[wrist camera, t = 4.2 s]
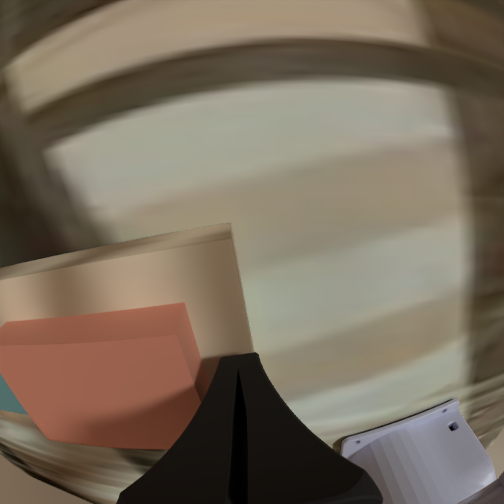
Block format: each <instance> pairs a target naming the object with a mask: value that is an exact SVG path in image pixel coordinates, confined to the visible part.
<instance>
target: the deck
mask: <svg viewBox="0 0 504 504" xmlns="http://www.w3.org/2000/svg"><path fill="white" fill-rule="evenodd" d="M181 302H185V305H186V308H187V312H188V316H189V319H190V322H191V326H192V329H193V333H194V336H195V339H196V343H197V346H198V349H199V353H200V356H201V359H202V362H203V365H204V368H205V372H206V375H207V378H208V381H209V384H211V382H212V379H213V377H214V374H215V372H216V369H217V366H218V363H219V360H220V359H221V357H225V356H232V355H239V354H246V353H253V352H254V348H253V343H252V338H251V332H250V327H249V321H248V316H247V311H246V305H245V300H244V294H243V289H242V283H241V278H240V272H239V266H238V261H237V255H236V249H235V244H234V238H233V232H232V226H231V223H227V224H221V225H215V226H209V227H203V228H197V229H191V230H186V231H180V232H174V233H169V234H163V235H158V236H152V237H147V238H142V239H136V240H131V241H126V242H121V243H116V244H111V245H106V246H100V247H96V248H91V249H86V250H81V251H76V252H71V253H66V254H62V255H57V256H52V257H48V258H43V259H38V260H34V261H29V262H25V263H21V264H16V265H12V266H7V267H3V268H0V328H1V327H2V326H3V325H4V324H5V323H6V322H9V321H21V320H33V319H44V318H55V317H65V316H75V315H85V314H94V313H103V312H111V311H120V310H128V309H136V308H144V307H152V306H159V305H167V304H174V303H181Z"/></svg>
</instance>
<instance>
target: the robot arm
mask: <svg viewBox="0 0 504 504" xmlns="http://www.w3.org/2000/svg"><path fill="white" fill-rule="evenodd" d="M459 403H460V402H459V400H458V399H453V400H451V401H449V402H447V403H444V404H442V405H440V406H437V407H435V408H433V409H430V410H428V411H425V412H423V413H420V414H418V415H415V416H412V417H410V418H407V419H404V420H401V421H399V422H396V423H393V424H390V425H387V426H384V427H381V428H378V429H375V430H371V431H368V432H365V433H361V434H358V435H354V436H350V437H347V438H345V439H344V440H343V441H342V443H341V451H340V454H339V453H337V452H336V451H335V450H333V449H332V448H331V447H329V446H328V445H327V444H326V443H324V442H323V441H322V440H321V439H320V438H318V437H317V436H316V435H315V434H314V433H312V432H311V431H310V430H309V429H308V428H307V427H306V426H305V425H304V424H303V423H302V422H301V421H300V420H299V419H298V417H297V416H296V415H295V414H294V413H293V412H292V411H291V410H290V408H289V407H288V406H287V405H286V403H285V402H284V401H283V399H282V398H281V397H280V395H279V394H278V392H277V391H276V389H275V388H274V386H273V385H272V383H271V382H270V380H269V378H268V376H267V375H266V373H265V371H264V369H263V366H262V364H261V362H260V358H259V354H257V353H256V352H253V353H246V354H239V355H232V356H225V357H221V359H220V360H219V363H218V366H217V369H216V372H215V374H214V377H213V379H212V382H211V384H210V386H209V388H208V390H207V392H206V395H205V397H204V399H203V401H202V402H201V404H200V406H199V408H198V409H197V411H196V413H195V415H194V416H193V418H192V420H191V421H190V423H189V424H188V426H187V427H186V429H185V430H184V431H183V433H182V434H181V435H180V437H179V438H178V439H177V440H176V442H175V443H174V444H173V445H172V447H171V448H170V449H169V450H168V451H167V452H166V454H165V455H164V456H163V457H162V458H161V459H160V460H159V461H158V462H157V463H156V464H155V465H154V466H153V467H151V468H150V469H149V470H148V471H147V472H146V473H145V474H144V475H143V476H142V477H140V478H139V479H138V480H136V481H135V482H134V483H133V484H131V485H130V486H129V487H127V488H126V489H125V490H123V491H122V492H120V495H119V498H118V501H117V503H116V504H504V472H503V473H502V474H501V475H500V476H499V478H498V479H497V480H496V475H495V470H494V466H493V464H492V461H491V459H490V457H489V455H488V454H487V452H486V451H485V449H484V448H483V446H482V445H481V443H480V442H479V440H478V439H477V437H476V436H475V434H474V433H473V431H472V430H471V428H470V427H469V425H468V424H467V422H466V421H465V419H464V418H463V416H462V415H461V413H460V412H459V411H458V409H457V408H458V406H459Z"/></svg>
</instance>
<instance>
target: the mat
mask: <svg viewBox="0 0 504 504" xmlns="http://www.w3.org/2000/svg"><path fill="white" fill-rule="evenodd" d="M0 410H5V411H10V412H16V413H22V414H28V413H27V412H26V411H25V409H24V408H23V406H22V405H21V404H20V402H19V401H18V399H17V398H16V396H15V395H14V393H13V392H12V390H11V389H10V387H9V386H8V384H7V383H6V381H5V380H4V378H3V377H2V375H1V373H0Z"/></svg>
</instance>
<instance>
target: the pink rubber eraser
mask: <svg viewBox="0 0 504 504" xmlns="http://www.w3.org/2000/svg"><path fill="white" fill-rule="evenodd" d="M0 373H1V375H2V377H3V378H4V380H5V381H6V383H7V384H8V386H9V387H10V389H11V390H12V392H13V393H14V395H15V396H16V398H17V399H18V401H19V402H20V404H21V405H22V406H23V408H24V409H25V411H26V412H27V413H28V415H29V416H30V417H31V419H32V420H33V421H34V422H35V424H36V425H37V426H38V428H39V429H40V430H41V431H42V433H43V434H44V435H45V436H46V437H47V439H48V440H53V441H59V442H66V443H73V444H81V445H90V446H100V447H112V448H129V449H170V448H171V447H172V445H173V444H174V443H175V442H176V440H177V439H178V438H179V437H180V435H181V434H182V433H183V431H184V430H185V429H186V427H187V426H188V424H189V423H190V421H191V420H192V418H193V416H194V415H195V413H196V411H197V409H198V408H199V406H200V404H201V402H202V401H203V399H204V397H205V395H206V392H207V390H208V388H209V386H210V384H209V381H208V378H207V375H206V372H205V368H204V365H203V362H202V359H201V356H200V353H199V349H198V346H197V343H196V339H195V336H194V333H193V329H192V326H191V322H190V319H189V316H188V312H187V308H186V305H185V302H181V303H174V304H167V305H159V306H152V307H144V308H136V309H128V310H120V311H111V312H103V313H94V314H85V315H75V316H65V317H55V318H44V319H33V320H21V321H9V322H6V323H5V324H4V325H3V326H2V327H1V328H0Z"/></svg>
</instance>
